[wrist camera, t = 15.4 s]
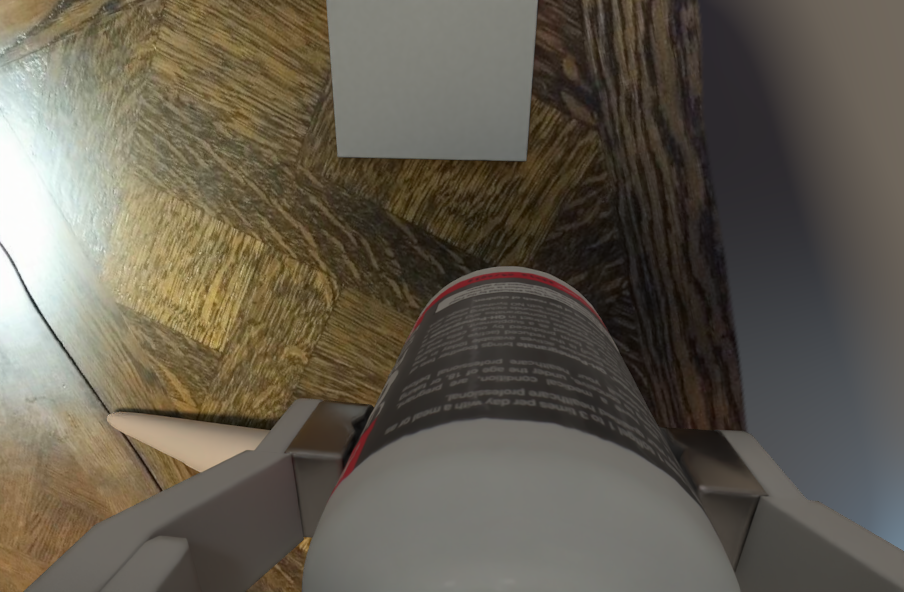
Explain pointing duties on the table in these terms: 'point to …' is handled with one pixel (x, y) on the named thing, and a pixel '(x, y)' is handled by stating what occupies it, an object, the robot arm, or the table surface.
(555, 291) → the pill bottle
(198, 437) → the long cone
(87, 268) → the table surface
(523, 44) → the coaster
